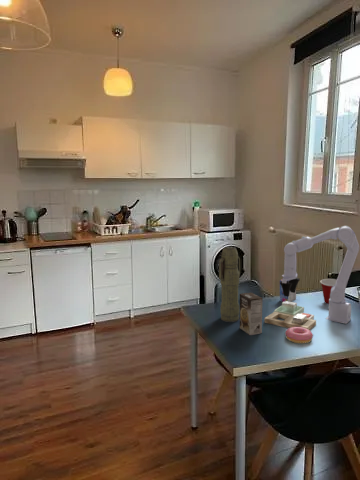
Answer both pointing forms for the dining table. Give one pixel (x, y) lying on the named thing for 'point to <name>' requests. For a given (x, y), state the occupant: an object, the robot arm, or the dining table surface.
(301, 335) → the doughnut
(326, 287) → the plastic cup
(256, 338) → the dining table surface
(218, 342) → the dining table surface
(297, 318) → the block
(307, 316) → the button
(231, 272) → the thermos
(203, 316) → the dining table surface
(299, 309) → the tote
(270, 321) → the tan open frame
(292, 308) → the billet
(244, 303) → the coffee box
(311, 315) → the button housing
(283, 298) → the ink cartridge box
